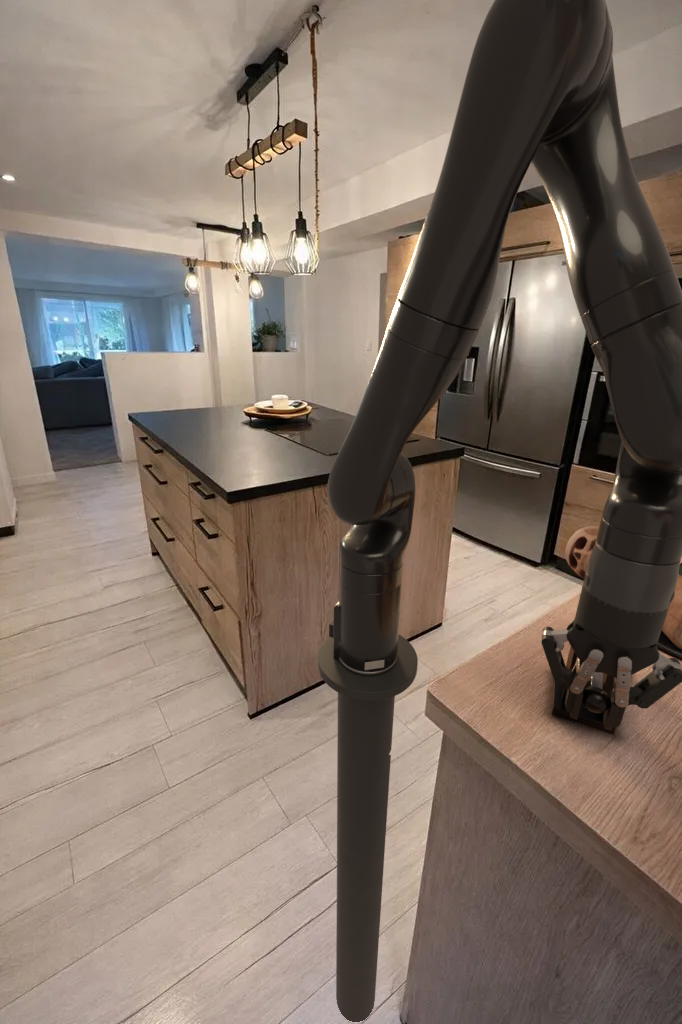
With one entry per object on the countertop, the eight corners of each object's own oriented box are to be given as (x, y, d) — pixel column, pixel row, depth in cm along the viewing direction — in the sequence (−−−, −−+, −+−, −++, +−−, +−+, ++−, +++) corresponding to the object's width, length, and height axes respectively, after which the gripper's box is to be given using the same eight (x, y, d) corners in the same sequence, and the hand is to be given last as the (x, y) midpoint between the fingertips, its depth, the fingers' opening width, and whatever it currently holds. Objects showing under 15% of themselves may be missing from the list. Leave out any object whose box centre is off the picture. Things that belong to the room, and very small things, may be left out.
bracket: (614, 735, 54) (638, 656, 49) (551, 714, 56) (569, 638, 52) (609, 691, 60) (630, 619, 56) (553, 675, 63) (569, 605, 59)
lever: (606, 721, 49) (612, 709, 47) (578, 712, 50) (583, 700, 48) (608, 640, 56) (613, 628, 54) (583, 634, 57) (588, 622, 55)
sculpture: (643, 649, 66) (545, 558, 94) (726, 657, 68) (606, 565, 96) (670, 593, 63) (560, 516, 91) (757, 602, 65) (623, 524, 93)
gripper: (702, 587, 45) (657, 717, 51) (551, 558, 50) (527, 678, 57) (723, 628, 38) (668, 769, 45) (548, 589, 44) (521, 720, 50)
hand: (589, 717), depth 51 cm, fingers closed on lever, 3 cm apart
